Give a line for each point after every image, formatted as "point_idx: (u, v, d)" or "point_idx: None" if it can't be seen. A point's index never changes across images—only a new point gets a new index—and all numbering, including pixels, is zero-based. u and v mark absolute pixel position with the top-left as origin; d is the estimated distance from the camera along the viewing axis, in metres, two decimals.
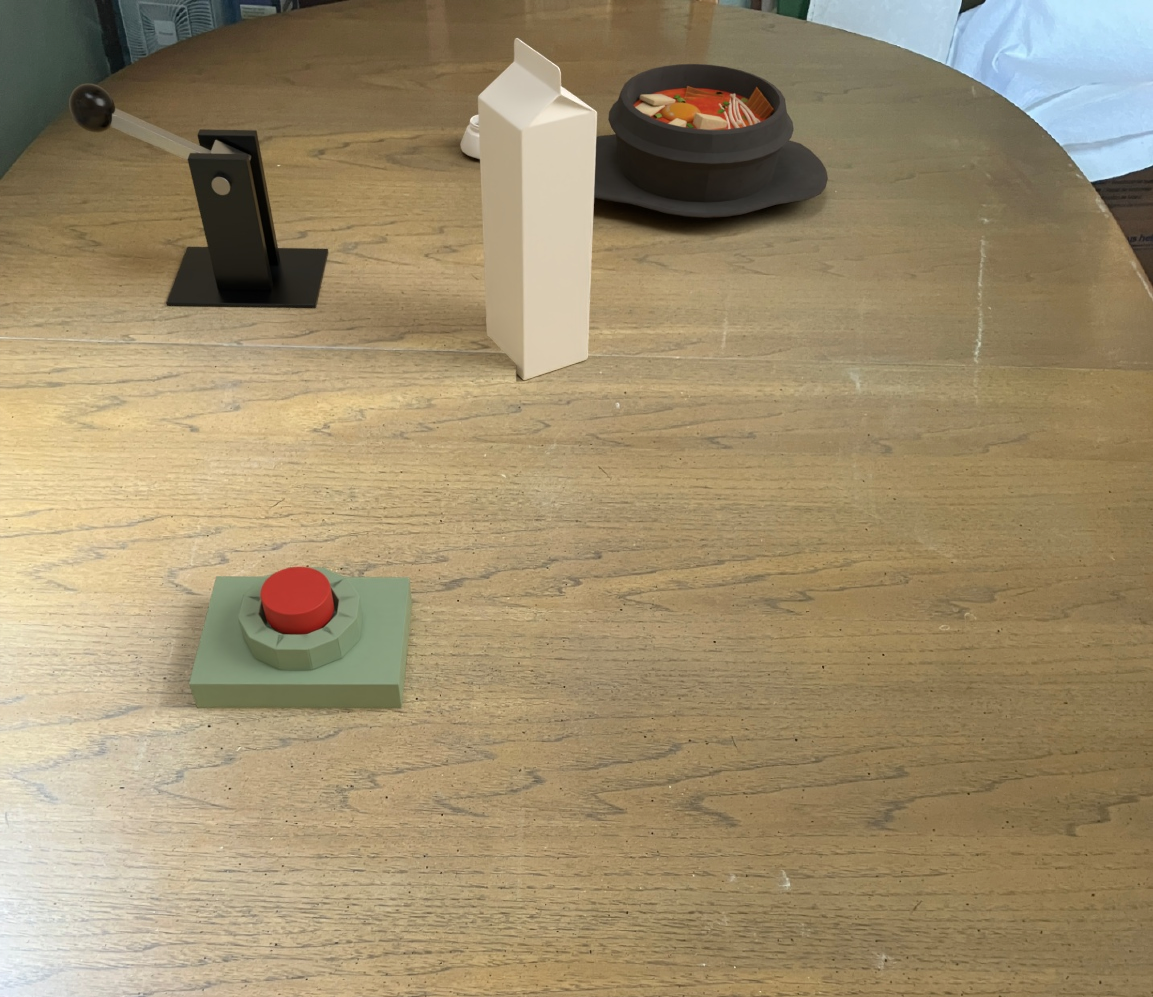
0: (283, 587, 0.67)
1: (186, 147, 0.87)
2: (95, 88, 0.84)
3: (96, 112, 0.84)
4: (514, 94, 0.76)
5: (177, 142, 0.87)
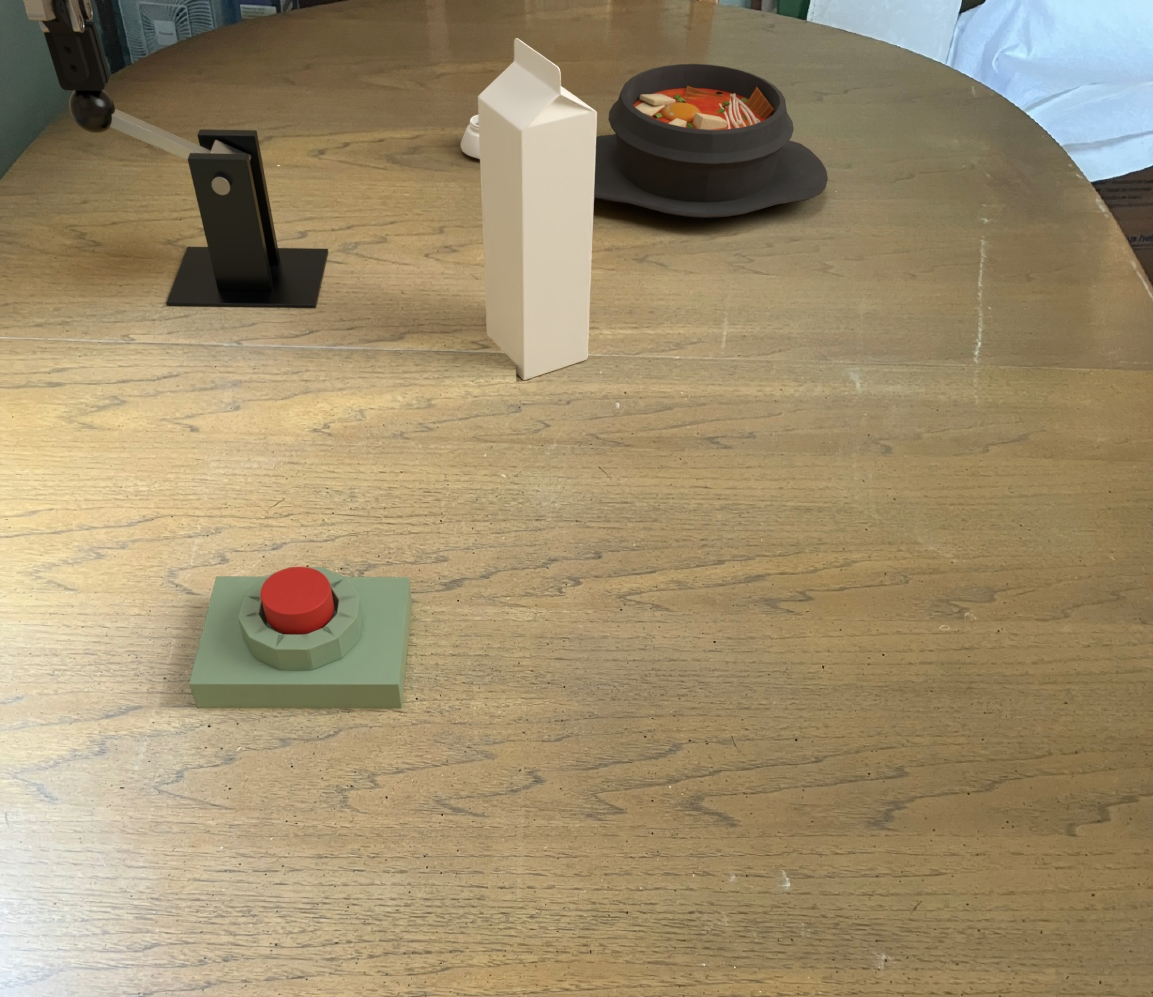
0: (283, 587, 0.67)
1: (186, 147, 0.87)
2: None
3: (96, 113, 0.84)
4: (514, 94, 0.76)
5: (177, 142, 0.87)
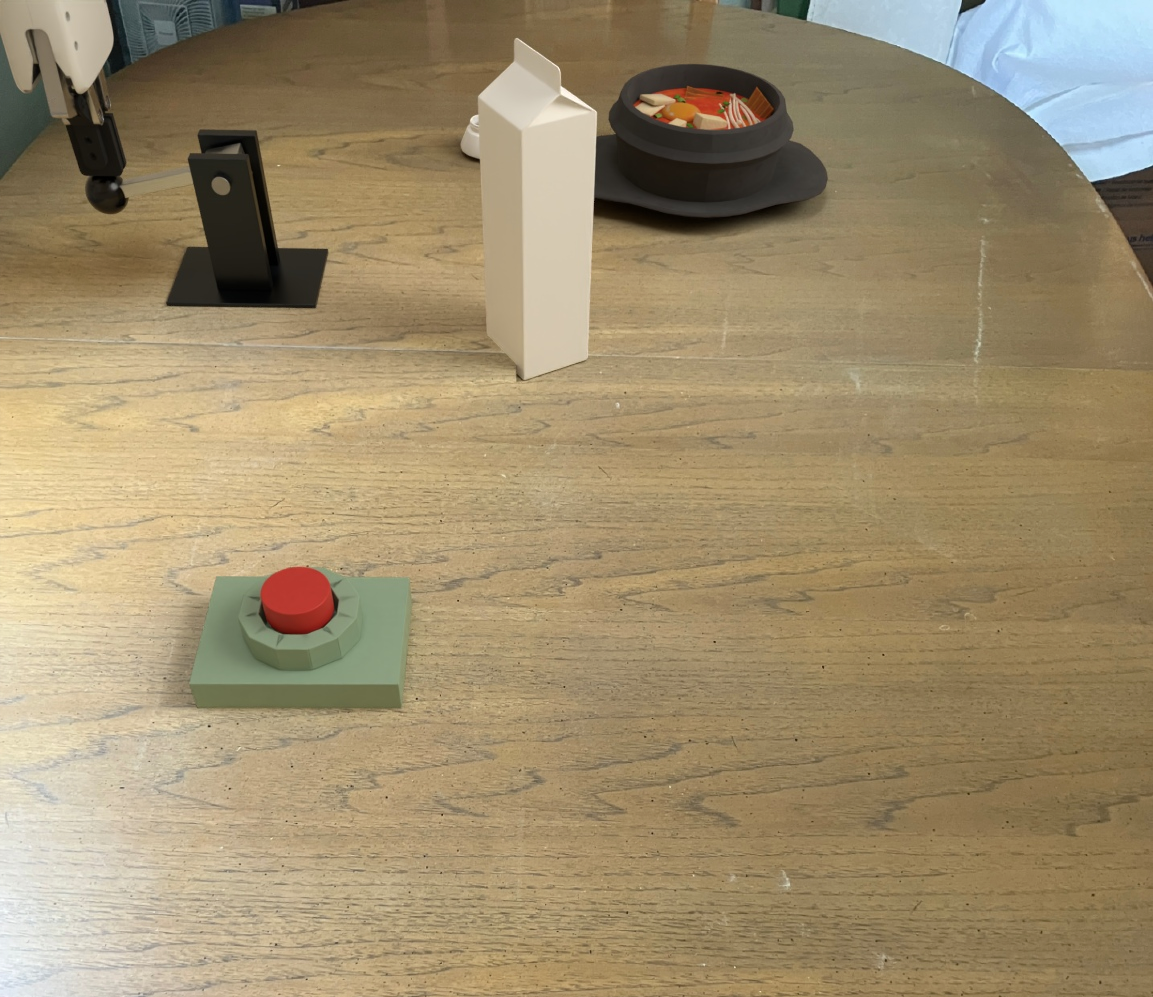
0: (283, 587, 0.67)
1: (185, 172, 0.89)
2: None
3: (105, 192, 0.89)
4: (514, 94, 0.76)
5: (176, 173, 0.89)
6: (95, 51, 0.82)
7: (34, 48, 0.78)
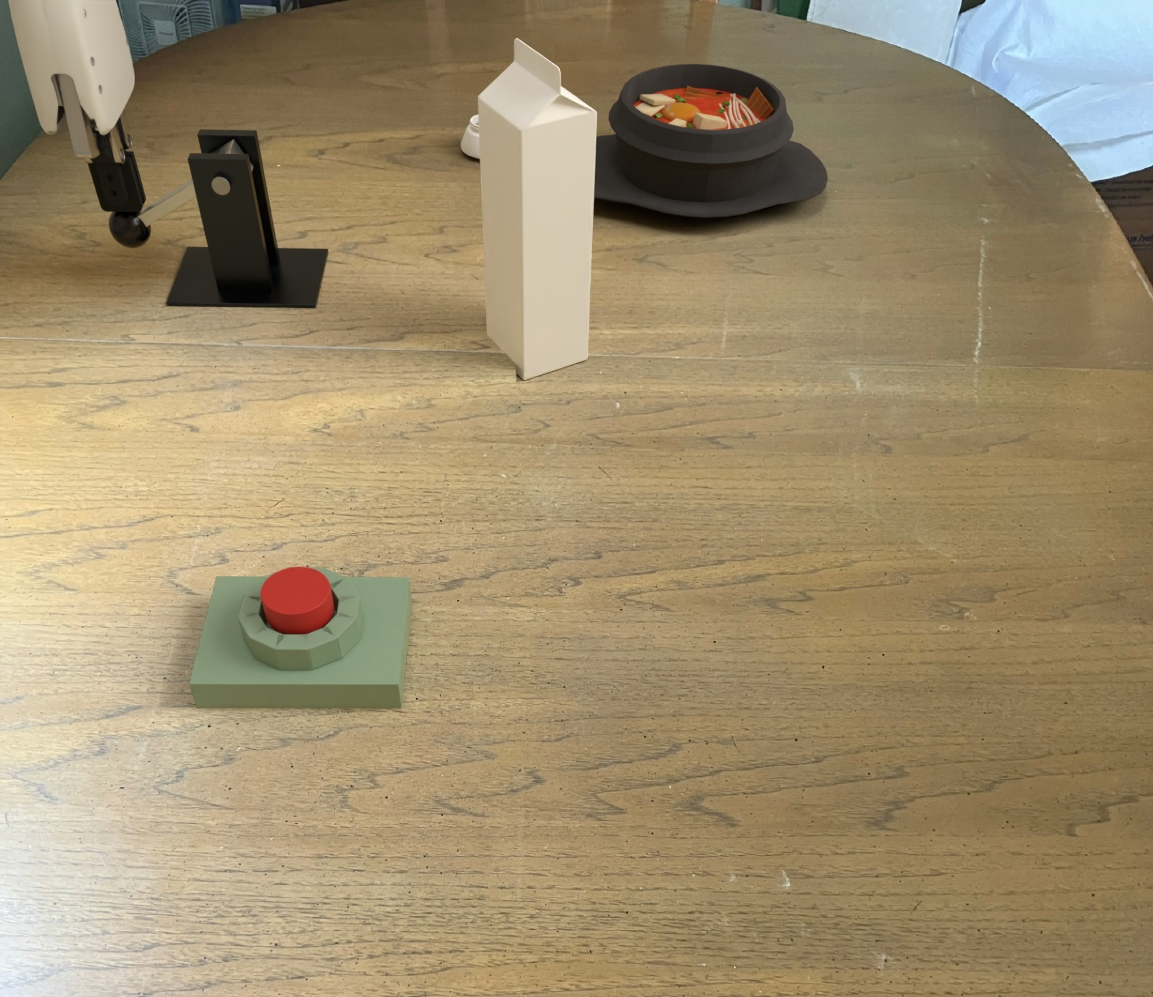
0: (283, 587, 0.67)
1: (191, 184, 0.89)
2: None
3: (126, 226, 0.91)
4: (514, 94, 0.76)
5: (183, 188, 0.90)
6: (118, 93, 0.84)
7: (59, 91, 0.81)
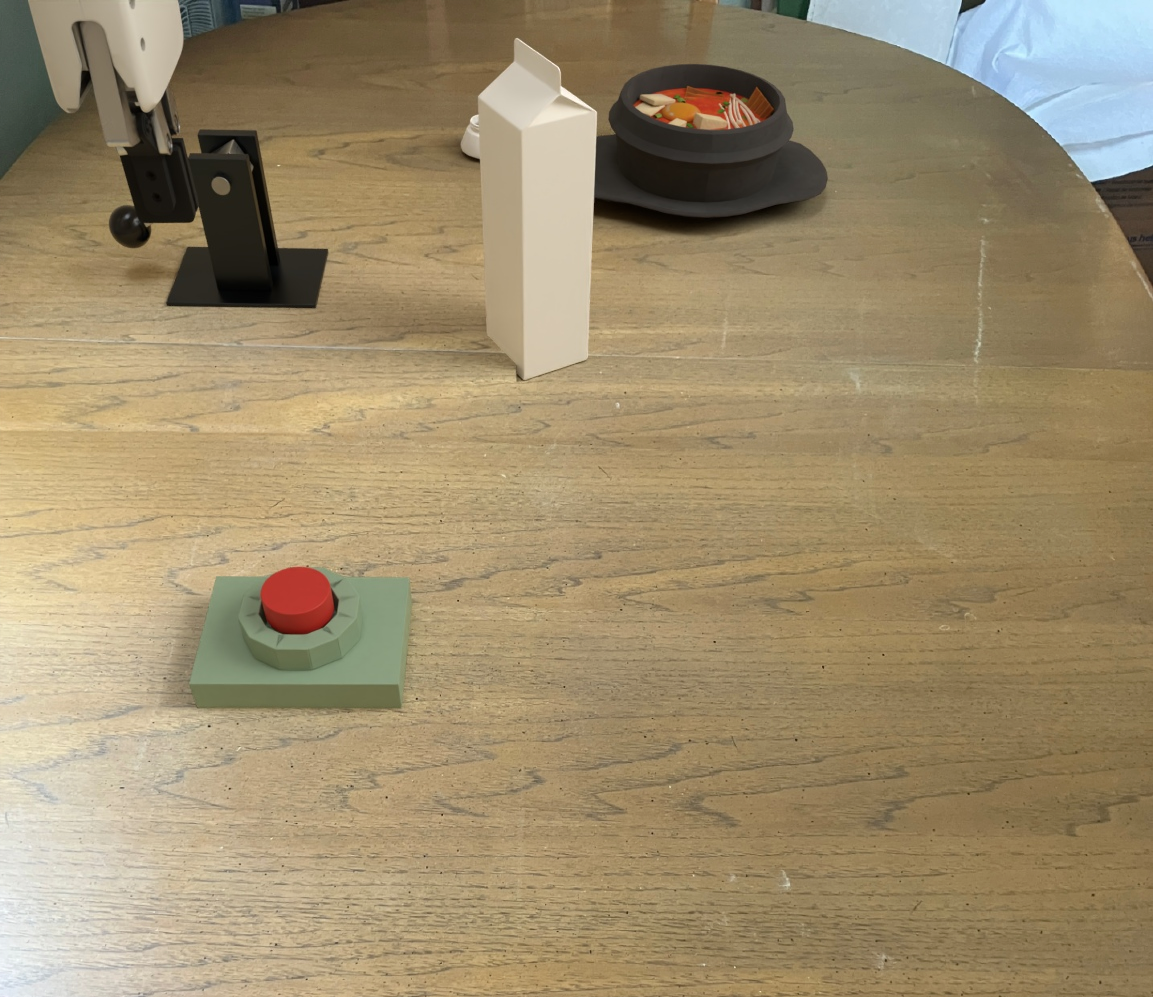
0: (283, 587, 0.67)
1: None
2: (115, 210, 0.91)
3: (126, 226, 0.91)
4: (514, 94, 0.76)
5: None
6: (165, 53, 0.58)
7: (83, 48, 0.55)
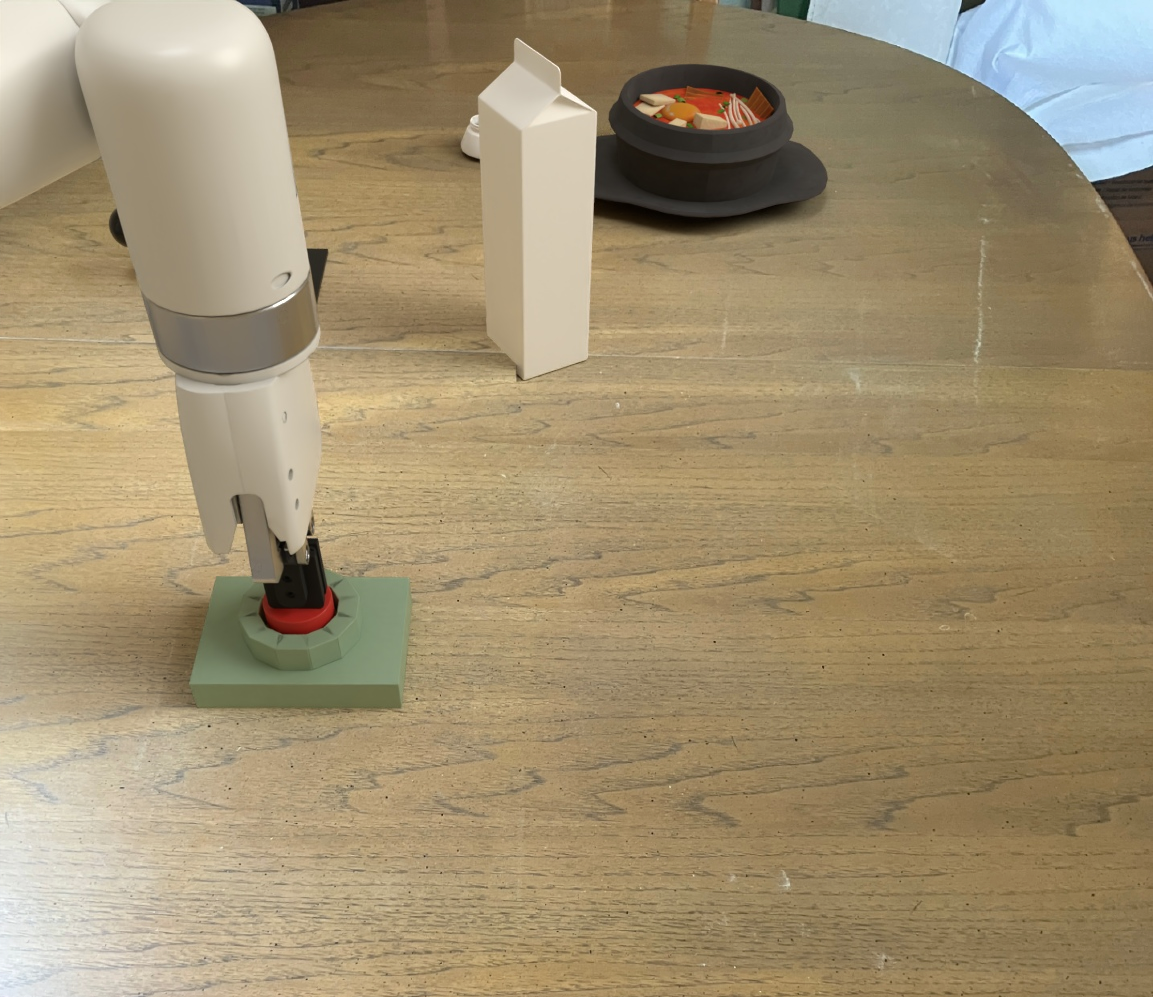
0: None
1: None
2: (115, 210, 0.91)
3: None
4: (514, 94, 0.76)
5: None
6: (311, 488, 0.60)
7: (238, 508, 0.56)
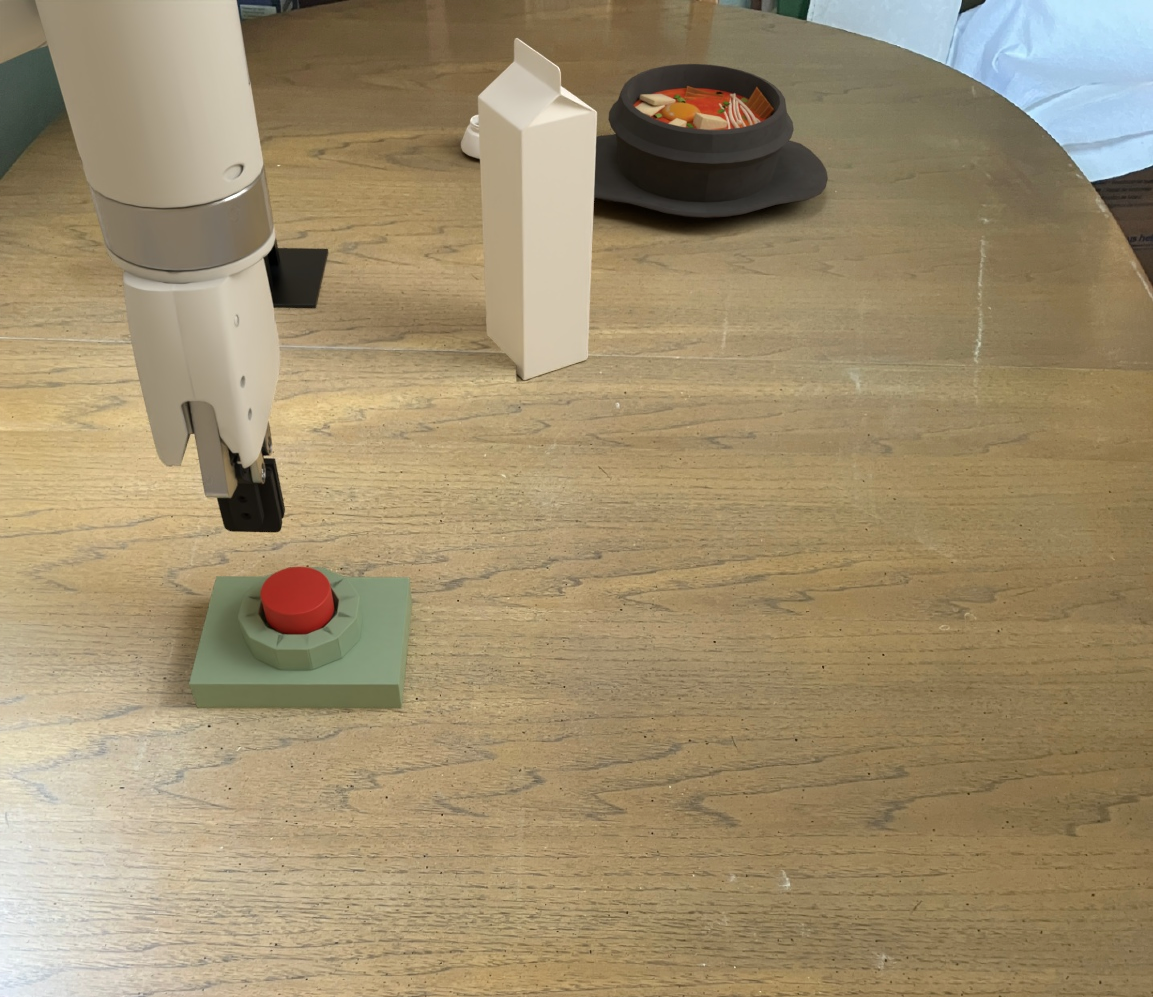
0: (283, 587, 0.67)
1: None
2: None
3: None
4: (514, 94, 0.76)
5: None
6: (266, 402, 0.58)
7: (189, 417, 0.55)
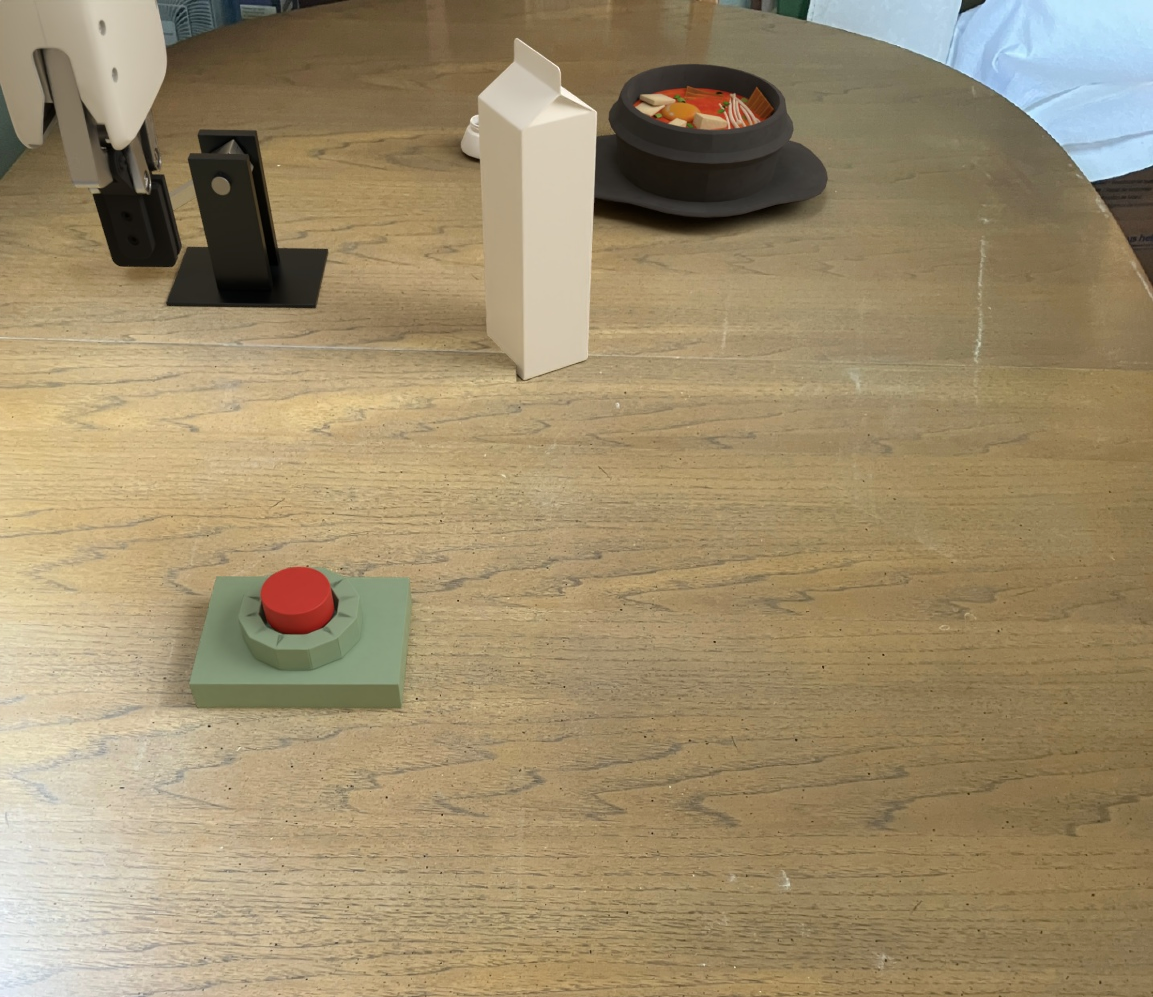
0: (283, 587, 0.67)
1: (191, 184, 0.89)
2: None
3: None
4: (514, 94, 0.76)
5: (183, 188, 0.90)
6: (142, 82, 0.52)
7: (46, 78, 0.48)
